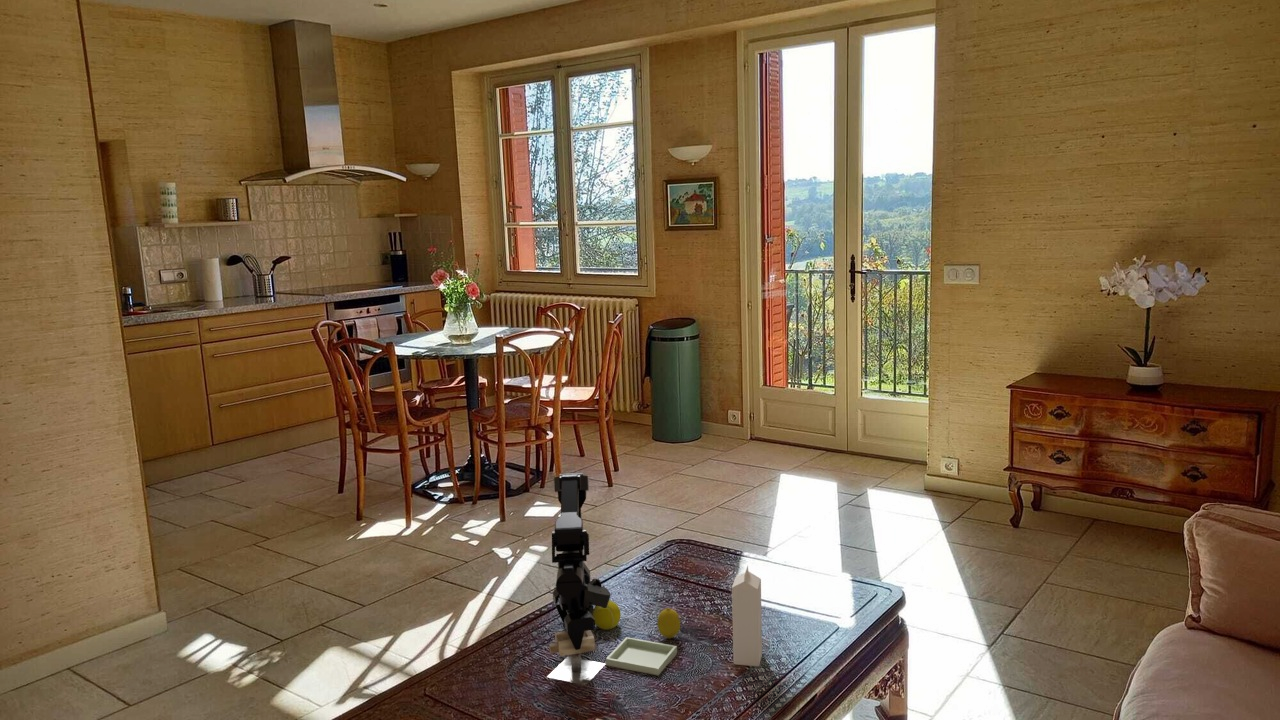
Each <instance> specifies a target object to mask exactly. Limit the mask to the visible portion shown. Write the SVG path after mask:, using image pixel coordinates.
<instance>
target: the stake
mask: <svg viewBox="0 0 1280 720" xmlns="http://www.w3.org/2000/svg"><path fill="white" fill-rule="evenodd" d="M581 654H582V653H577V654H571V655H570V656H569V655H567V657H565V658H564V660H563V661H562V662H561V663H559V664H558V666H556V667H555V668H554V669H553V670H552V671H551V672H550V673H549V674H548V675H547V676H546V678H549V679H554V680H560V681H564V682H568V683H572V684H578V685H582V686H587V685H588V683H590V681H592V679H594V677H595V676H596V675H597V674H598V673H599V672H600V671H601V670H602V669H603V667H604V666H605V665H606V662H605V663H604V662H598V661H594V660H588V659H584V658H582V657H581Z"/></svg>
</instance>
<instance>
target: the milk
mask: <svg viewBox="0 0 1280 720" xmlns="http://www.w3.org/2000/svg"><path fill="white" fill-rule="evenodd" d="M731 609H732V611H731V614H732V617H731V618H732V650H733V651H732V652H733V653H732V654H733V655H732V656H733V657H732V658H733V659H732V661H733V665H739V666H750V667H760V665H761V661H762V655H763V634H762V633H763V629H762V628H763V627H762V624H763V621H762V620H763V619H762V579H761V577H759V576H757V575H756V574H754V573H752V572H751V571H749V565H747V567H746V569H745V571H744V572H743V573H741V574H739V575H736V576H735V577H734V581H733V583H732V586H731Z"/></svg>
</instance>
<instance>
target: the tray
mask: <svg viewBox="0 0 1280 720" xmlns="http://www.w3.org/2000/svg"><path fill="white" fill-rule="evenodd" d="M677 654H678V646H677V645H673V644H667V643H662V642H657V641H650V640H645V639H638V638H633V637H629V636H626V637H625V638H624V639H623V640H622V641H621V642H620V643H619V644H618V645H617V646H616V647H615V648H614V650H613V651H612V652H611V653H610V654H609V655H608V656H607V657H606V658H605V665H606V666H608V667H612V668H617V669H623V670H629V671H633V672H638V673H643V674H648V675H653V676H660V674H661V673H662V672H663V671H664V670H665V668H666V667H667V666H668V665H669V664H671V663H672V661H673V659H675V657H676V656H677Z"/></svg>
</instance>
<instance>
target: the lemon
mask: <svg viewBox="0 0 1280 720" xmlns="http://www.w3.org/2000/svg"><path fill="white" fill-rule="evenodd" d="M657 628H658V631H659V633H660V635H661V636H662V637H664V638H667V639H668V640H670V639H672V638H674V637H676V636H677V635H678V634H679V631H680V629H681V620H680V615H679V613H677V611H676V610H674V609H672V608H670V607H666V608H664V609H663V610H661V612H660V613H659V615H658V616H657Z"/></svg>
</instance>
